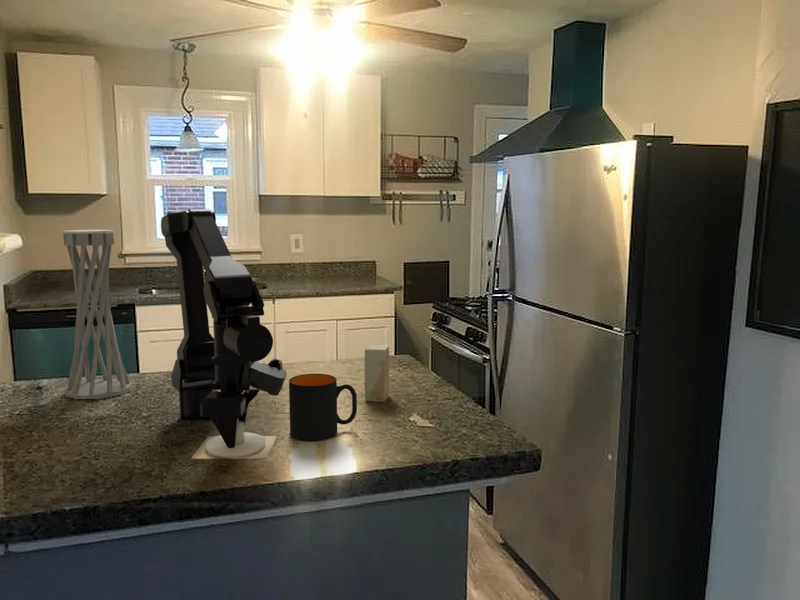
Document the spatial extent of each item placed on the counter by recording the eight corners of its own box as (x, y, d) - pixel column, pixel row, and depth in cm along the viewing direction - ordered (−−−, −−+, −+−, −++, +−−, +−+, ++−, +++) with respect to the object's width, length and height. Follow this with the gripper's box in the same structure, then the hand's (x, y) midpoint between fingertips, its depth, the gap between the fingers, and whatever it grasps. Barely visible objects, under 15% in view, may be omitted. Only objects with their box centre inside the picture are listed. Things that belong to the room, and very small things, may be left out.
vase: (117, 379, 152) (108, 228, 147) (143, 390, 143) (133, 230, 137) (55, 391, 142) (42, 230, 137) (78, 404, 133) (65, 232, 128)
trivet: (190, 462, 103) (190, 458, 103) (208, 439, 113) (208, 436, 113) (266, 461, 104) (266, 458, 103) (277, 439, 113) (277, 436, 113)
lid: (198, 457, 104) (197, 433, 103) (215, 436, 113) (214, 414, 112) (258, 457, 104) (258, 433, 103) (270, 436, 113) (269, 414, 113)
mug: (362, 439, 114) (362, 381, 112) (294, 447, 110) (292, 387, 108) (351, 424, 121) (350, 370, 120) (286, 431, 118) (285, 375, 116)
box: (384, 402, 135) (384, 350, 133) (364, 401, 135) (363, 349, 134) (389, 395, 140) (389, 344, 138) (370, 394, 140) (369, 344, 139)
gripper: (271, 363, 97) (274, 462, 99) (290, 337, 115) (292, 422, 118) (196, 363, 97) (201, 463, 99) (227, 337, 115) (230, 422, 117)
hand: (235, 440), depth 108 cm, fingers open, 6 cm apart
